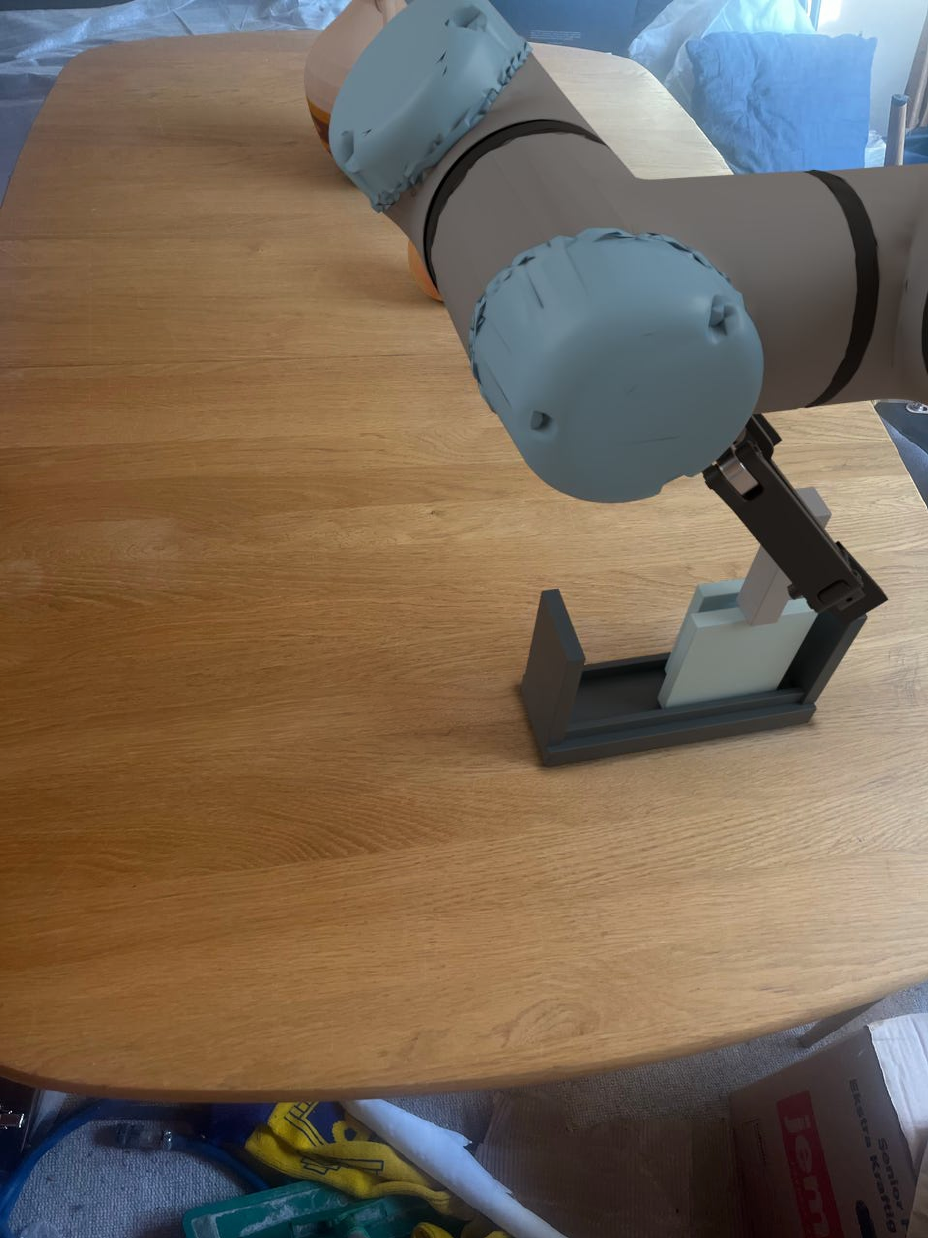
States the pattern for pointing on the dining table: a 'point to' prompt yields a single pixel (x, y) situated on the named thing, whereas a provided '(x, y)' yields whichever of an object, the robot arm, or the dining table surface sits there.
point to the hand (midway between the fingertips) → (809, 523)
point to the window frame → (658, 687)
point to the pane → (743, 635)
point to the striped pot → (341, 55)
